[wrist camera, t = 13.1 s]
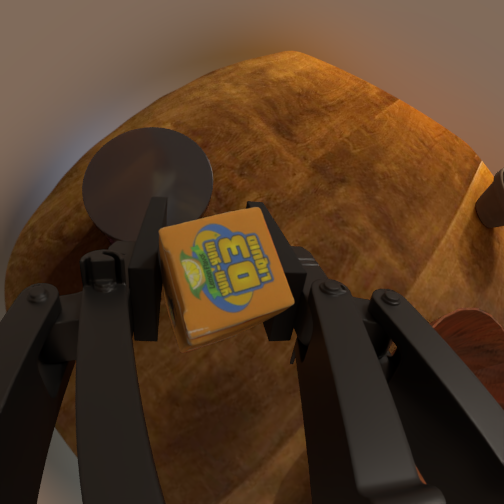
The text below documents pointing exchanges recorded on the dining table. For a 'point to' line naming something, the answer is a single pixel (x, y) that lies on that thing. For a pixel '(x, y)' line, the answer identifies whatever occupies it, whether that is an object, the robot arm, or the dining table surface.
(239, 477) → the dining table surface
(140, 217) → the jar
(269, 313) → the supplement box
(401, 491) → the robot arm
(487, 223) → the flower pot
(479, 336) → the bowl
